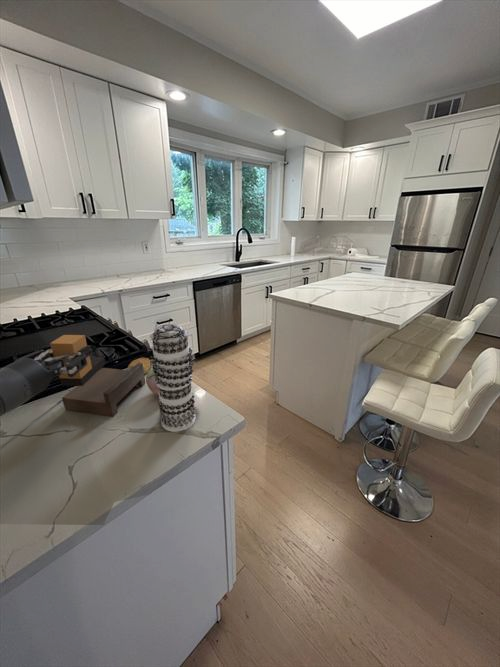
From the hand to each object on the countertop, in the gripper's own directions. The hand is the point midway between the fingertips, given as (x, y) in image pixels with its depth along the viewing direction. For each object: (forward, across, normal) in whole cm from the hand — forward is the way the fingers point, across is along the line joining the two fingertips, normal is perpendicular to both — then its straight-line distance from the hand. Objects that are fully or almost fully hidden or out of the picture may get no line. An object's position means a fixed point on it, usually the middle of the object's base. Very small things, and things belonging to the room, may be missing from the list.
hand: (78, 348), depth 67 cm
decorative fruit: (+10, -15, +18) cm, 26 cm away
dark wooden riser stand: (+6, 0, +18) cm, 19 cm away
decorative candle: (0, -24, +18) cm, 30 cm away
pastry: (+21, -1, +18) cm, 28 cm away
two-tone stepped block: (0, 0, +8) cm, 8 cm away
